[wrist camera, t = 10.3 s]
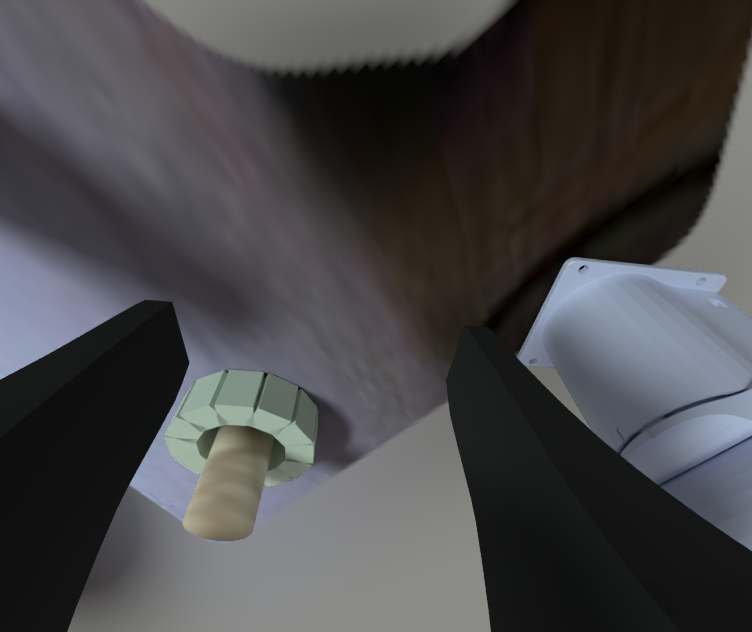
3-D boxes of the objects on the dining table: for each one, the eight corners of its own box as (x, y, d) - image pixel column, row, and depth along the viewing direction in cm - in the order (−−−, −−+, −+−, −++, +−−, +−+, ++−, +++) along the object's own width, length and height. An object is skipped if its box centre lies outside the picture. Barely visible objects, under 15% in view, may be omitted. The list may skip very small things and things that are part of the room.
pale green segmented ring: (319, 375, 25) (314, 410, 23) (316, 454, 31) (312, 489, 29) (170, 365, 24) (149, 400, 22) (197, 448, 30) (182, 483, 28)
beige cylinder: (278, 400, 26) (249, 513, 20) (280, 432, 29) (255, 542, 22) (223, 396, 26) (175, 510, 20) (229, 429, 29) (189, 539, 22)
